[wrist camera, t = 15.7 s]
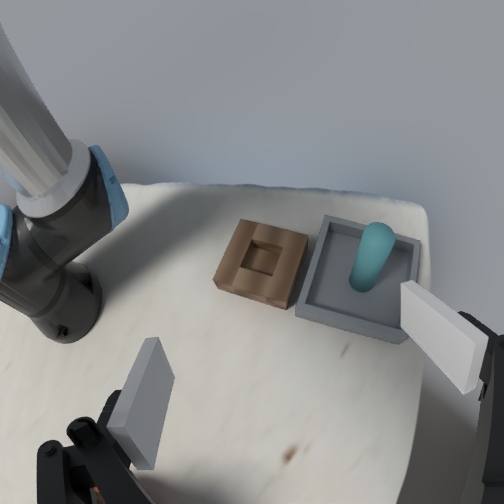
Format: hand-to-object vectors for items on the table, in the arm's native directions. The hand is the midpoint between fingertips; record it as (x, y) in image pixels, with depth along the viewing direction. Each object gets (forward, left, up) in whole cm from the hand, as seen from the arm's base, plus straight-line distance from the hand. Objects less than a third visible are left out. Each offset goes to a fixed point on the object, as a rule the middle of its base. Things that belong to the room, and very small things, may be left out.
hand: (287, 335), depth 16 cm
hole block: (-9, +16, -28) cm, 33 cm away
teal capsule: (+6, +18, -27) cm, 33 cm away
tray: (+6, +18, -28) cm, 33 cm away
